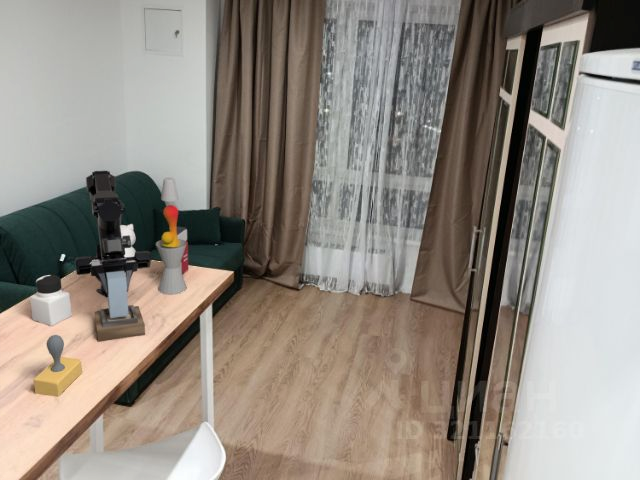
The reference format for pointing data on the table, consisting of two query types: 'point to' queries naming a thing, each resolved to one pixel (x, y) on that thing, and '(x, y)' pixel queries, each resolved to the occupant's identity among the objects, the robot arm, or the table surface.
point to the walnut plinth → (119, 324)
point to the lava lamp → (171, 245)
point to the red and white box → (184, 261)
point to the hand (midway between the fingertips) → (117, 292)
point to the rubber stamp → (57, 370)
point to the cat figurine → (129, 231)
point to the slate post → (117, 294)
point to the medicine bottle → (50, 301)
